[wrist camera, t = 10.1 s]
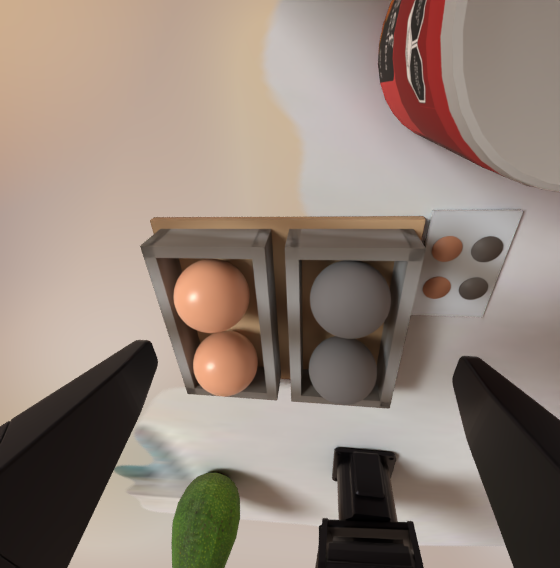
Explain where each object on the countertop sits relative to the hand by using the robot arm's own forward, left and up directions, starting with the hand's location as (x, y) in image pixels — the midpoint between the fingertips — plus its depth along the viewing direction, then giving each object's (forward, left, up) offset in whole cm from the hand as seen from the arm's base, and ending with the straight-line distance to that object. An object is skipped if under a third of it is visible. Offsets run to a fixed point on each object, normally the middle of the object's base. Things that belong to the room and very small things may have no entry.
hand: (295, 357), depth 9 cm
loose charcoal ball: (-5, -3, -10) cm, 11 cm away
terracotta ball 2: (-11, +6, -10) cm, 16 cm away
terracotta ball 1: (-5, +6, -10) cm, 13 cm away
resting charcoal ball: (-11, -2, -10) cm, 15 cm away
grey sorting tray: (-8, -1, -13) cm, 15 cm away
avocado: (-36, +12, -13) cm, 40 cm away
